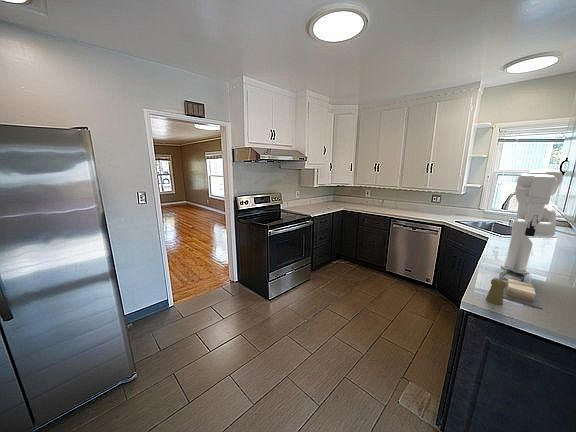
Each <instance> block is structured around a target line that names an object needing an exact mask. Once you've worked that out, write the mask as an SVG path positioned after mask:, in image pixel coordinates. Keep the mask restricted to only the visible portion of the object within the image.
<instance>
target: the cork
mask: <svg viewBox="0 0 576 432" xmlns="http://www.w3.org/2000/svg"><path fill="white" fill-rule="evenodd" d="M506 282H507V281H506V280H504V279H501V278H496V277H495V278H492V279H491V280H490V284H491V286H490V288H489V290H488V293H487V294H486V298H485V300H486V302H488V303H490V304H492V305H497V306H503V304H504V298H503V289H504V288H505V287H506Z"/></svg>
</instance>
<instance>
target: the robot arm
mask: <svg viewBox="0 0 576 432" xmlns="http://www.w3.org/2000/svg"><path fill="white" fill-rule="evenodd" d="M563 179H564V178H563V173H562V171H560V170H559V169H558V170H557V169H534V170H530V171H529V172H523V173H520V174H519V176H517V179H516V186H515V189H514V190H515V192H514V194H515V198H516V201H517V204H518V205H517V210H516V218H517V219H515V220H514V221H513V222H512V224H511V236H510V241H509V246H508V250H507V254H506V258H505V262H503V263H501V264H500V267H501V268H502V269H504V270H505V271H506V270H507V269H509V270H512V271H514V272H516V273H519V274H524V275H526V274H529V273H530V270H529V269H528V268H527V267H528V263H529V261H530V260H529V259H530V255H531V251H532V248H533V242H532V240H531V239H530V238H529V237H532V238H538V239H545V240H546V239H547V240H548V239H549V240H550V239H552V238H553V237H554V236H555V234H556V230H557V228H556V225H557V212H556V211H555V210H554V209H553V208H549V207H545V206H546V205H548V206H549V205H550V200H551V196H553V195H555V194H556V193H557V190H558V189H559V187H560V185H561V183H562V181H563Z"/></svg>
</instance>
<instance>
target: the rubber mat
mask: <svg viewBox="0 0 576 432" xmlns="http://www.w3.org/2000/svg"><path fill="white" fill-rule="evenodd" d="M505 282H506V285H507V281H505ZM534 290H535V298H534V301H533V302H531V301H528V300H524V299H520V298H517V297H513V296H510V295H507V288H506V287H505V288H504V289H503V299H505V300H509V301H512V302H515V301H516V302H515V303H520V304H523V305H526V306H530V307H533V308H535V309H536V308H537V309H540V310H543V306H542V302H541V300H540V296H539V293H538V291H537V288H534Z"/></svg>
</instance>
